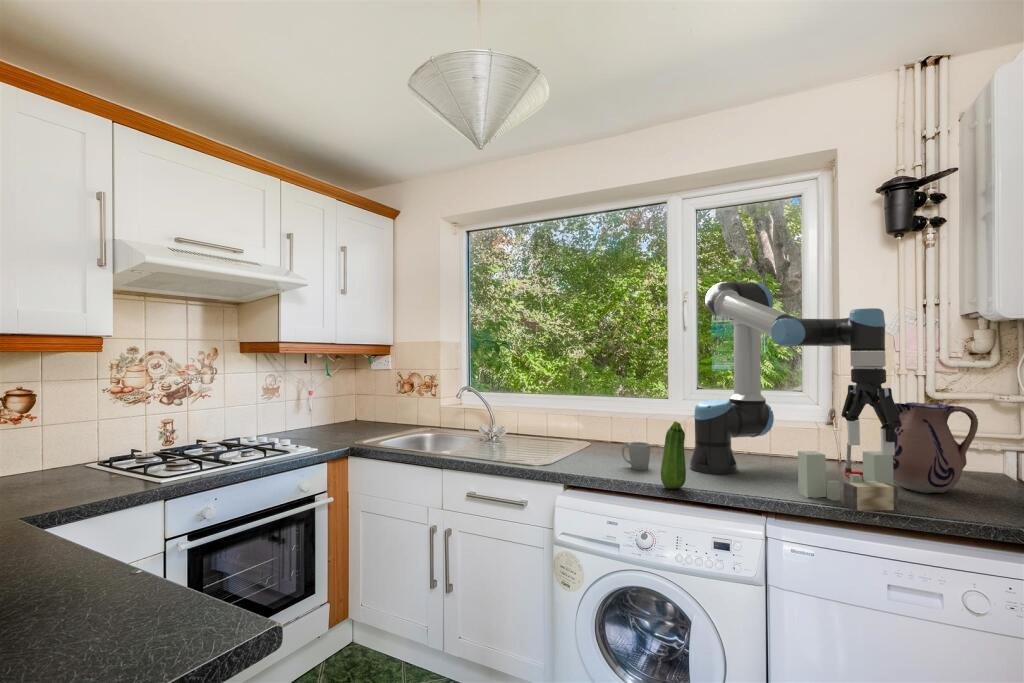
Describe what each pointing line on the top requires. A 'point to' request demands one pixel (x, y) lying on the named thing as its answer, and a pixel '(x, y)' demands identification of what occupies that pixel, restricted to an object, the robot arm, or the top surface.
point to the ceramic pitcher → (929, 447)
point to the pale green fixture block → (875, 469)
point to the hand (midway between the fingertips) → (870, 449)
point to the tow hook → (848, 464)
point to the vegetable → (674, 458)
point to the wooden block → (870, 496)
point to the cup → (638, 455)
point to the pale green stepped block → (815, 476)
